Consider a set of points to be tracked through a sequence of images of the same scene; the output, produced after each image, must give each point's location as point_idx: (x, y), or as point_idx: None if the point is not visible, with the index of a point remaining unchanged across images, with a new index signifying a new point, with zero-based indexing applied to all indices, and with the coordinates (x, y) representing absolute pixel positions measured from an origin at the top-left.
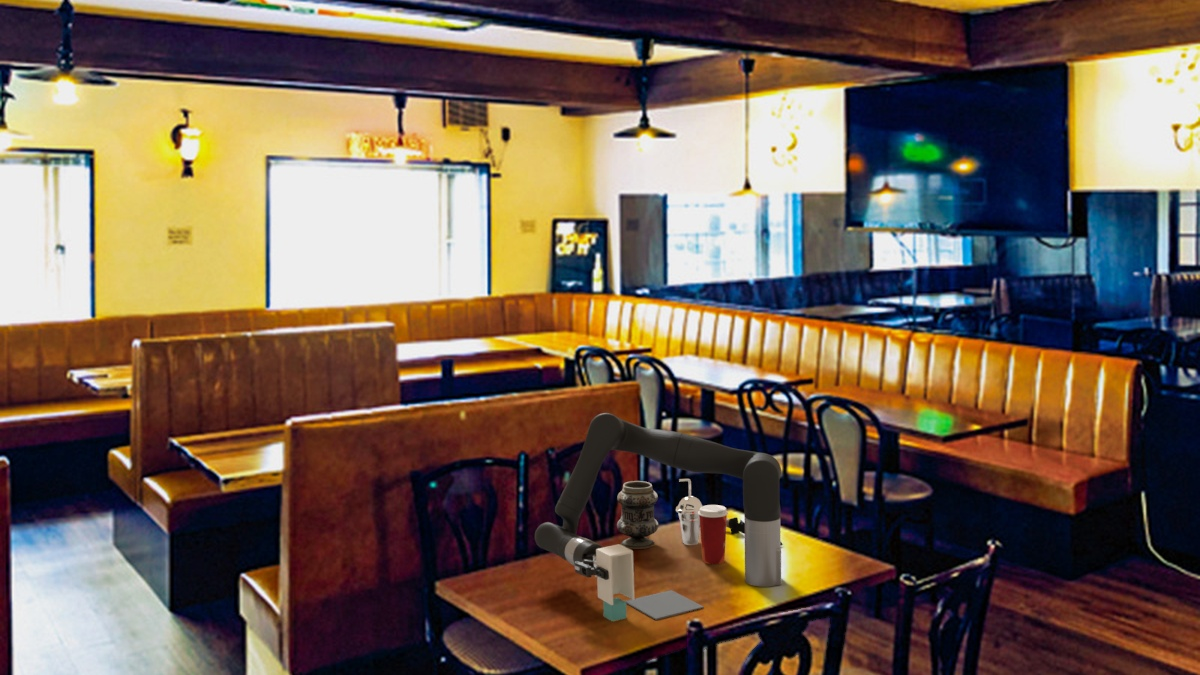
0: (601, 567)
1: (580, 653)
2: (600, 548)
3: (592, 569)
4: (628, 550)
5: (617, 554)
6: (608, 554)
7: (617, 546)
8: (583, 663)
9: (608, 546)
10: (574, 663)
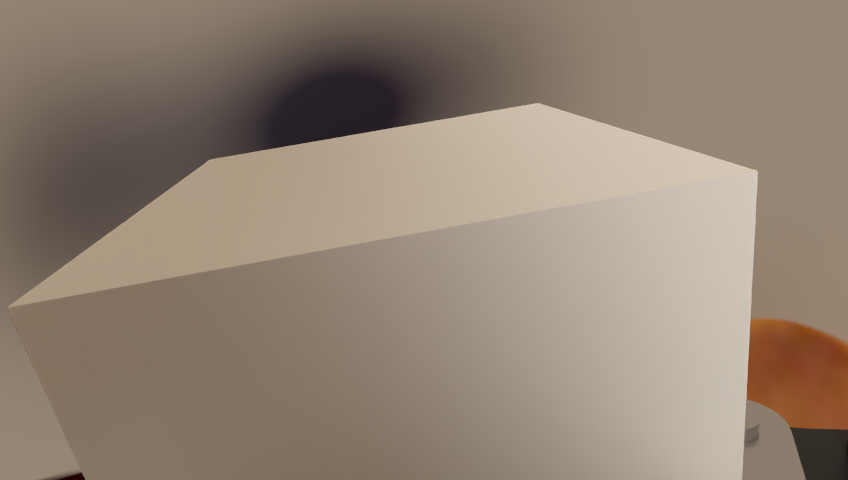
0: None
1: (793, 378)
2: (624, 186)
3: (812, 432)
4: (240, 161)
5: (433, 123)
6: (540, 112)
7: (208, 225)
8: (763, 322)
9: (369, 238)
10: (804, 325)
